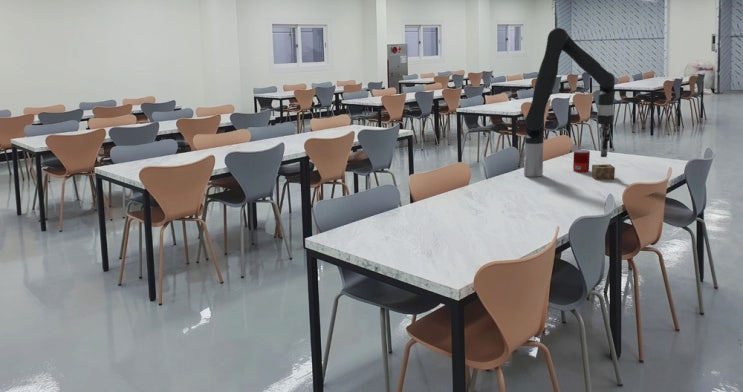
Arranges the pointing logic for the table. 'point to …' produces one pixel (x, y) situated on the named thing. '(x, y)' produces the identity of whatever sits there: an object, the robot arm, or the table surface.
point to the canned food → (581, 160)
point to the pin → (603, 151)
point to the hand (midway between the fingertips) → (604, 148)
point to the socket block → (603, 172)
